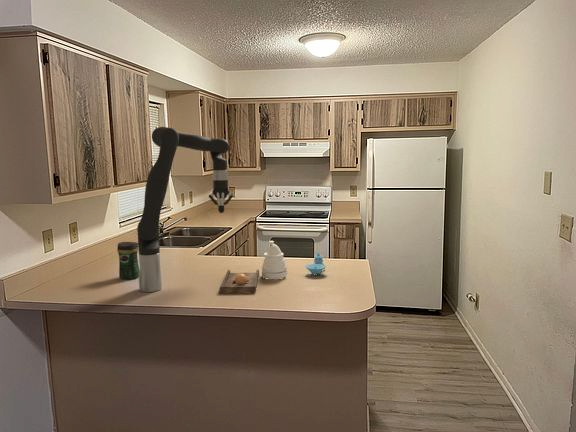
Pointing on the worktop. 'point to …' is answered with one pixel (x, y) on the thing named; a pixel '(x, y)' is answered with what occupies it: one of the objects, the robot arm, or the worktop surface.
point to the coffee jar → (128, 260)
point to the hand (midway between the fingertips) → (221, 212)
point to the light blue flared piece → (316, 265)
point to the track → (230, 288)
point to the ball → (241, 279)
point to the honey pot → (274, 263)
